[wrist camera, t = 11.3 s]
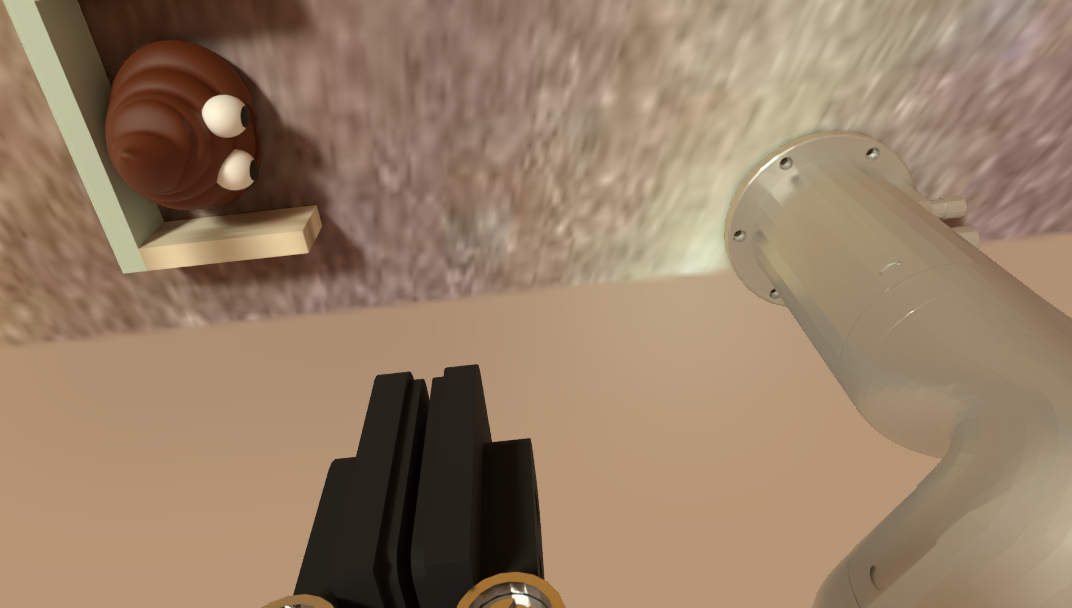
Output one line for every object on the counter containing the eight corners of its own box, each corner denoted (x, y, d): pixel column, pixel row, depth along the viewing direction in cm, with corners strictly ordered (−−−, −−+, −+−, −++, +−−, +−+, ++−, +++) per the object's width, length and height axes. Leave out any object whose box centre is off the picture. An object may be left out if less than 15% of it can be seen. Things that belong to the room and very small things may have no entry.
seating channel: (244, -60, 39) (220, -55, 36) (322, 226, 48) (308, 252, 44) (35, -36, 39) (-10, -28, 36) (149, 245, 48) (123, 273, 44)
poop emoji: (106, 33, 41) (12, 70, 33) (259, 38, 42) (202, 76, 34) (146, 197, 46) (73, 264, 38) (282, 200, 47) (238, 266, 39)
